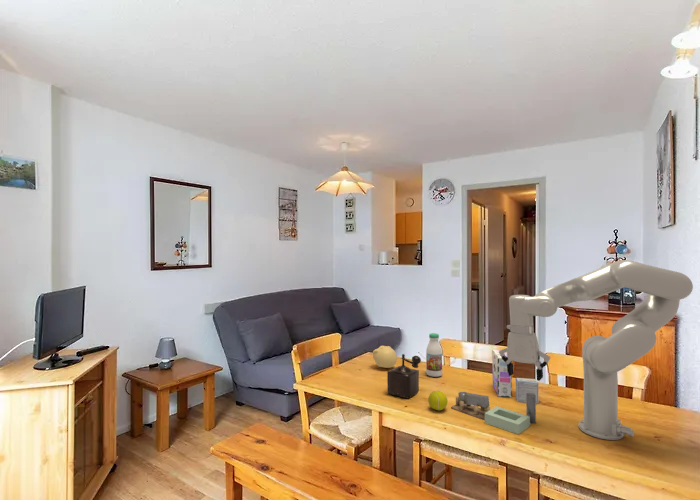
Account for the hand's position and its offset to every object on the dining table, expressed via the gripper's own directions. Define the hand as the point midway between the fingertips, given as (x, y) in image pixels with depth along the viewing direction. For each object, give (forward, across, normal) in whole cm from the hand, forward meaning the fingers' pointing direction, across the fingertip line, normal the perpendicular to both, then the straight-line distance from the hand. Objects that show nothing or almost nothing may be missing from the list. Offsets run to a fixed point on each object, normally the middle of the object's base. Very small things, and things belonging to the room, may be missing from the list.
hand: (524, 377), depth 136 cm
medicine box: (+16, -6, +19) cm, 26 cm away
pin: (+16, +1, 0) cm, 16 cm away
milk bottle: (+14, -51, +23) cm, 58 cm away
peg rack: (+15, -18, -5) cm, 24 cm away
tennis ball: (+14, -29, -12) cm, 35 cm away
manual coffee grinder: (+14, -47, -6) cm, 49 cm away
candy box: (+16, -18, +23) cm, 33 cm away
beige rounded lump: (+13, -77, +18) cm, 80 cm away
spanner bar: (+12, -17, -5) cm, 21 cm away
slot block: (+16, -5, -7) cm, 18 cm away
